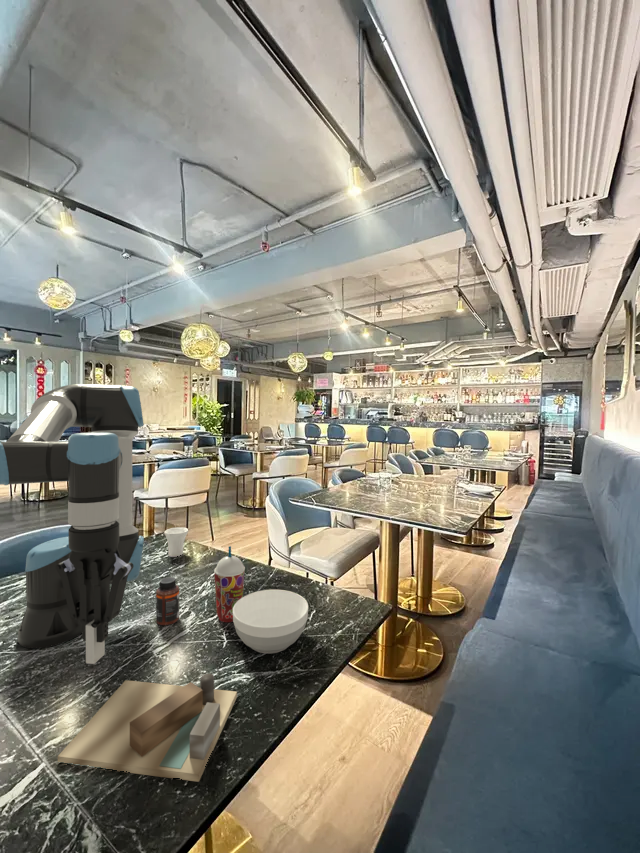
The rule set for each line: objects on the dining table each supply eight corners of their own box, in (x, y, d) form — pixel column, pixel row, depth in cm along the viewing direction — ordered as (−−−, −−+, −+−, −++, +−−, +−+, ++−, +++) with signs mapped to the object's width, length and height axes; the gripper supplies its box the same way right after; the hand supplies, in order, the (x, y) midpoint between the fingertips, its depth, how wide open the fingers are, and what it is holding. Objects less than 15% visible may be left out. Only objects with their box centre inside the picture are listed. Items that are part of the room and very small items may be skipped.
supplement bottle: (184, 617, 108) (184, 577, 107) (167, 628, 102) (167, 586, 102) (168, 612, 110) (168, 573, 110) (151, 623, 105) (151, 582, 104)
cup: (159, 558, 150) (159, 532, 150) (172, 549, 160) (172, 525, 159) (180, 560, 149) (180, 534, 149) (192, 551, 158) (192, 527, 158)
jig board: (57, 763, 63) (57, 730, 63) (125, 685, 81) (125, 659, 81) (198, 781, 60) (199, 747, 60) (236, 697, 78) (237, 670, 78)
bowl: (316, 657, 92) (317, 620, 91) (235, 671, 86) (235, 632, 86) (298, 616, 110) (298, 585, 109) (229, 625, 104) (230, 593, 104)
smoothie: (237, 627, 103) (237, 553, 103) (208, 623, 105) (208, 550, 104) (249, 611, 112) (249, 542, 111) (222, 608, 113) (222, 540, 113)
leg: (190, 702, 75) (190, 682, 75) (202, 710, 73) (202, 689, 73) (129, 745, 65) (129, 722, 65) (141, 756, 63) (141, 732, 63)
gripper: (142, 518, 69) (143, 648, 70) (75, 515, 71) (76, 642, 71) (116, 531, 62) (116, 676, 63) (41, 527, 63) (43, 669, 64)
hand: (95, 658), depth 67 cm, fingers closed
